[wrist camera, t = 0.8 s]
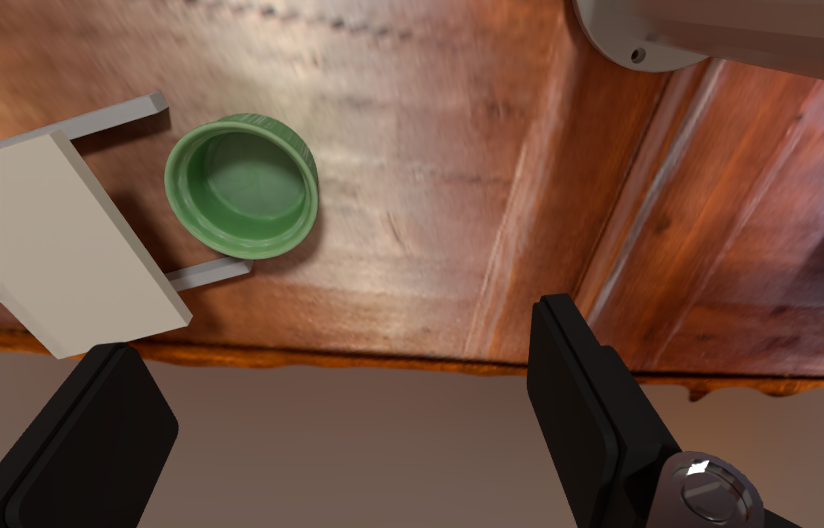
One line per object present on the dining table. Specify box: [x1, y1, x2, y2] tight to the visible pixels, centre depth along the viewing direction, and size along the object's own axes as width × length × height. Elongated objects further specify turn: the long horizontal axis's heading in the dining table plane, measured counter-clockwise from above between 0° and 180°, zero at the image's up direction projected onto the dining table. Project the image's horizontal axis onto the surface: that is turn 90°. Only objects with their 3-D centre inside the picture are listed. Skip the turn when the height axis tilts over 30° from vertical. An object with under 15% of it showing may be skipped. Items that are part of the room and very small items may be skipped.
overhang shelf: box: [0, 91, 254, 359], centre depth 28 cm, size 12×13×6 cm
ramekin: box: [164, 113, 319, 259], centre depth 28 cm, size 9×9×4 cm
